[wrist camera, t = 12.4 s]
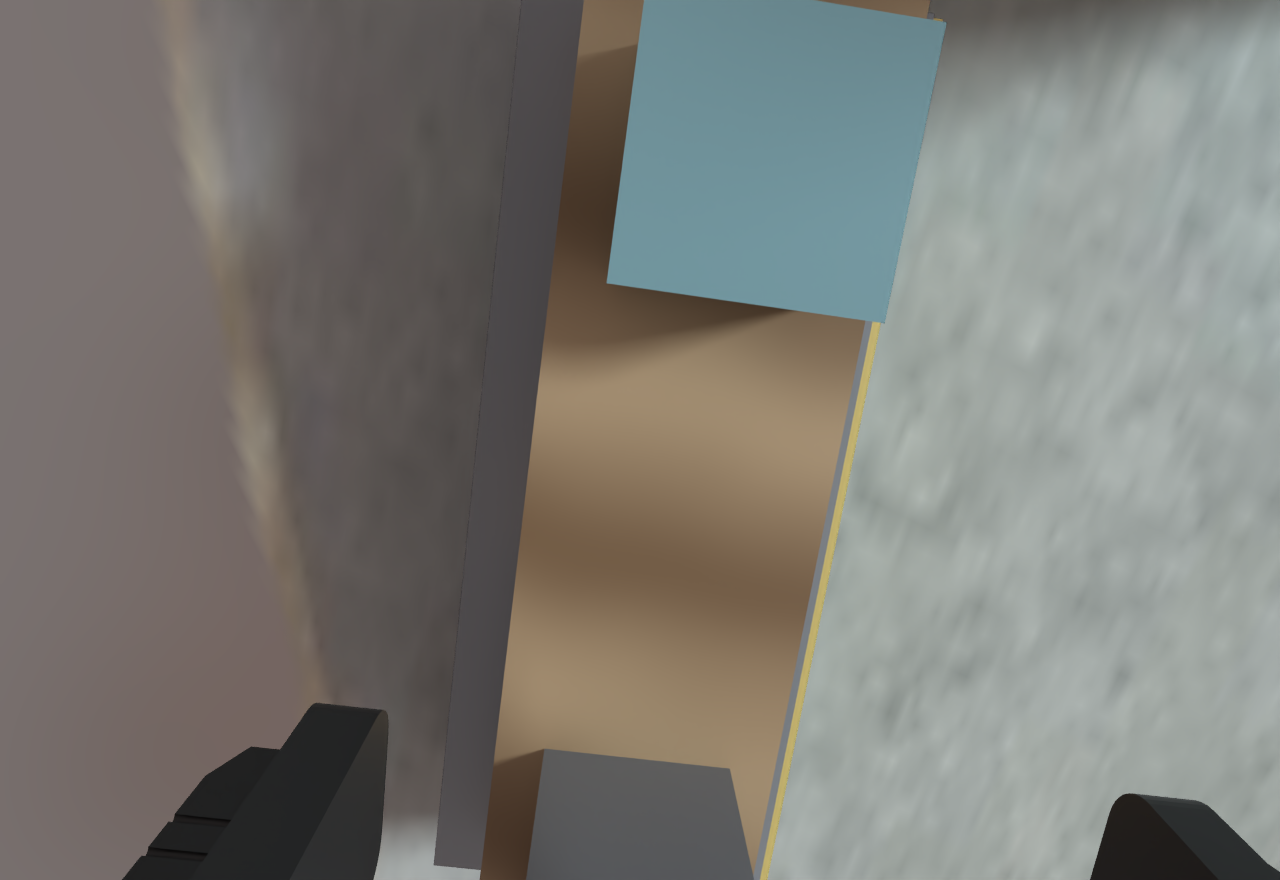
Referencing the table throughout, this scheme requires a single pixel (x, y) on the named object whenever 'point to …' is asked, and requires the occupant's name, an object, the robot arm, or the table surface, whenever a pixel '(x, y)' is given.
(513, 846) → the board
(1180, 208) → the table surface
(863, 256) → the block
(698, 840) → the block
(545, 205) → the dock
